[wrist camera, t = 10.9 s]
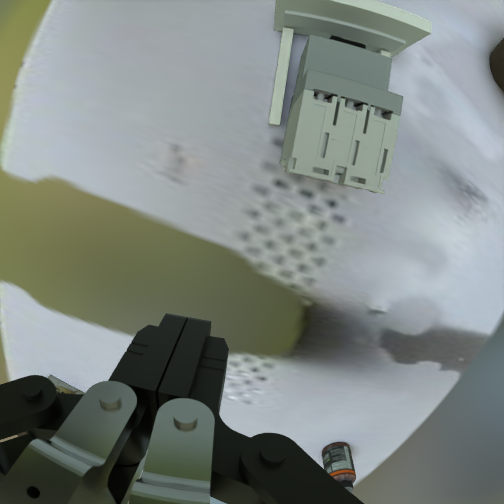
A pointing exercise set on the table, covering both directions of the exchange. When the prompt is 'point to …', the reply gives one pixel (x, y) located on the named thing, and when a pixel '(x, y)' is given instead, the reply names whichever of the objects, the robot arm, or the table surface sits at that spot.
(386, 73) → the circuit breaker
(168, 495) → the robot arm
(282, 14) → the rail bracket
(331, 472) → the supplement bottle
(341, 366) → the table surface
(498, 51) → the plant pot
